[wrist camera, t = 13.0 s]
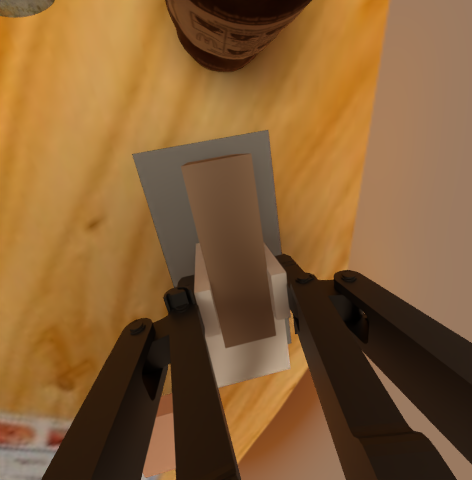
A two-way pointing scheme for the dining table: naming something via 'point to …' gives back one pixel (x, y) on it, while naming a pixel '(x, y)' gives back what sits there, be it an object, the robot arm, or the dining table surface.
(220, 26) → the coffee cup
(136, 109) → the dining table surface
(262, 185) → the mat
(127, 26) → the dining table surface
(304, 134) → the dining table surface
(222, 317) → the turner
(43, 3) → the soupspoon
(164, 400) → the tile
